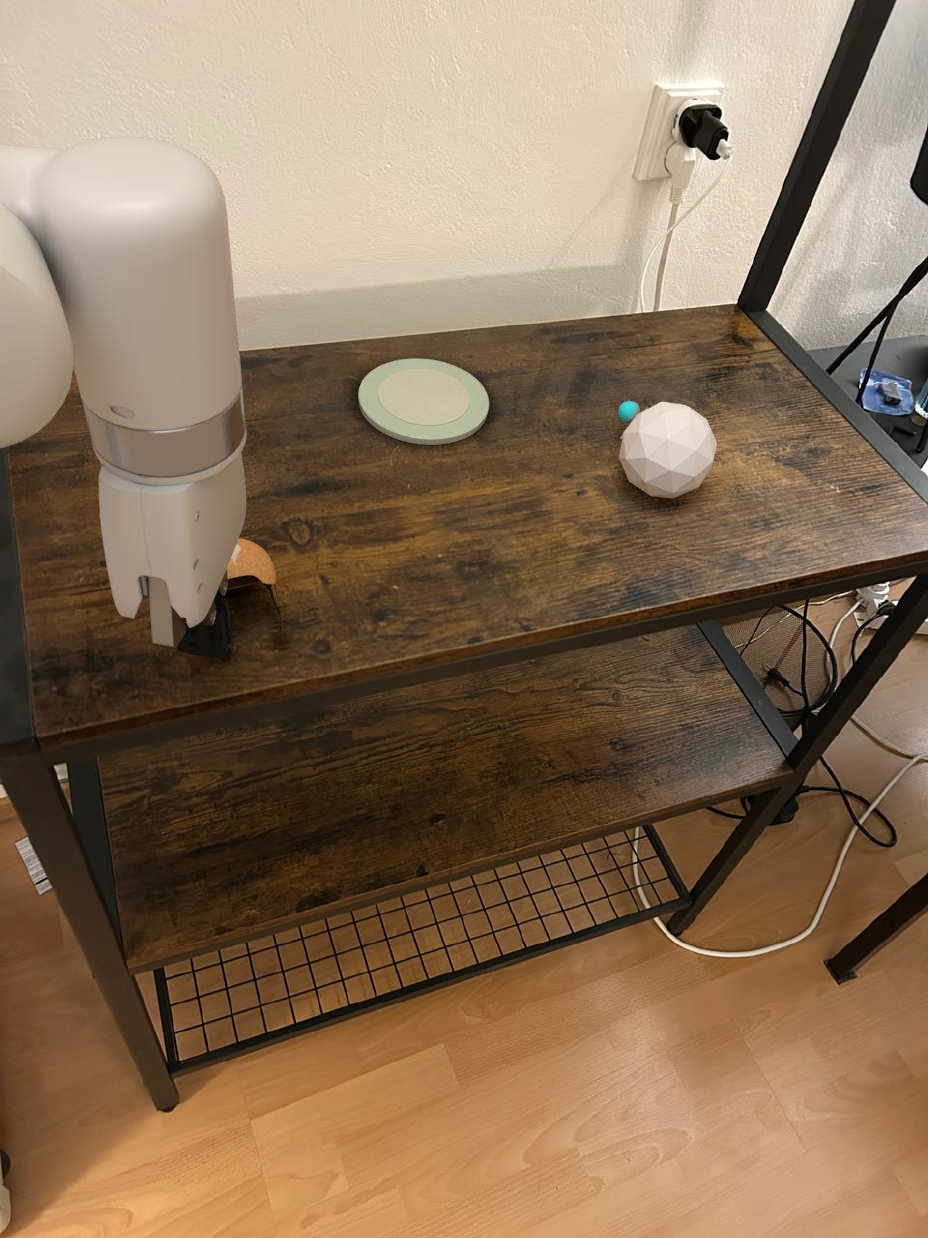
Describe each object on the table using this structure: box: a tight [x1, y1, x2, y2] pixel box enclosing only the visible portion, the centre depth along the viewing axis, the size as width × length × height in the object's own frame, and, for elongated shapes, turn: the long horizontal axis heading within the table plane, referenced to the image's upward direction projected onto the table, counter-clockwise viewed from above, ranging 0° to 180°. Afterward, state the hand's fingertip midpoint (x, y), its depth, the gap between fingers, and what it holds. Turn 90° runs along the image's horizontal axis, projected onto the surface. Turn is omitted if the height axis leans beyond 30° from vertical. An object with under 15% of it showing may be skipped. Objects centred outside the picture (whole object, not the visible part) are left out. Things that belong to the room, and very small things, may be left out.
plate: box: [357, 357, 490, 446], centre depth 89 cm, size 12×12×1 cm
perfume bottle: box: [617, 400, 718, 499], centre depth 83 cm, size 8×8×12 cm
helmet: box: [227, 537, 284, 643], centre depth 69 cm, size 6×7×8 cm
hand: (204, 644), depth 62 cm, fingers closed
